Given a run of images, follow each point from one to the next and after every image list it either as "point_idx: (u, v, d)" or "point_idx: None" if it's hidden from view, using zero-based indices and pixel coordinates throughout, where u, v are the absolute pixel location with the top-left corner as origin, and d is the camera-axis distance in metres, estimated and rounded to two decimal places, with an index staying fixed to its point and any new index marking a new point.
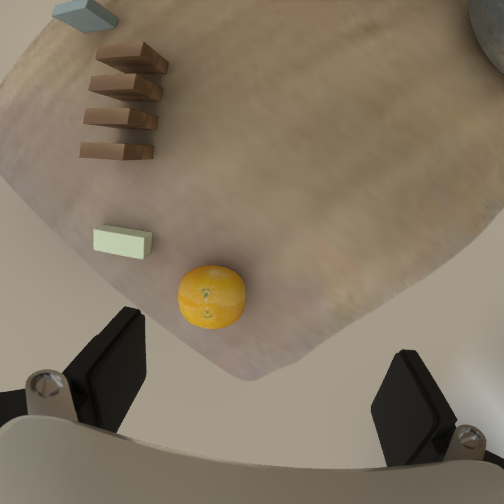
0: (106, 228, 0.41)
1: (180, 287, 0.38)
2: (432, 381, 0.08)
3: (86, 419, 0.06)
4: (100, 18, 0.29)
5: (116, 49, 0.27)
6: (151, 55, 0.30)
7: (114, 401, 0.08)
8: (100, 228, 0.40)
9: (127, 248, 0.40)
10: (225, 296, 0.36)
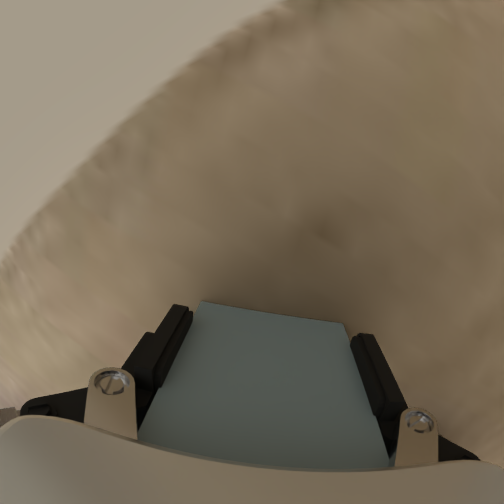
0: None
1: None
2: (385, 363, 0.09)
3: None
4: None
5: None
6: None
7: None
8: None
9: None
10: None
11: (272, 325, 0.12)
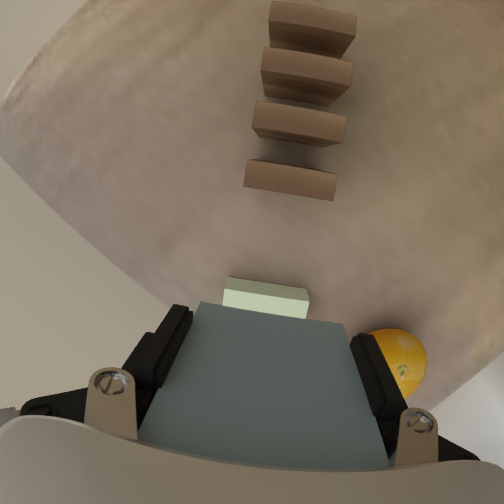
0: (240, 285, 0.30)
1: None
2: (385, 363, 0.09)
3: None
4: None
5: (310, 15, 0.16)
6: None
7: None
8: (232, 286, 0.30)
9: None
10: (419, 369, 0.26)
11: (272, 325, 0.12)
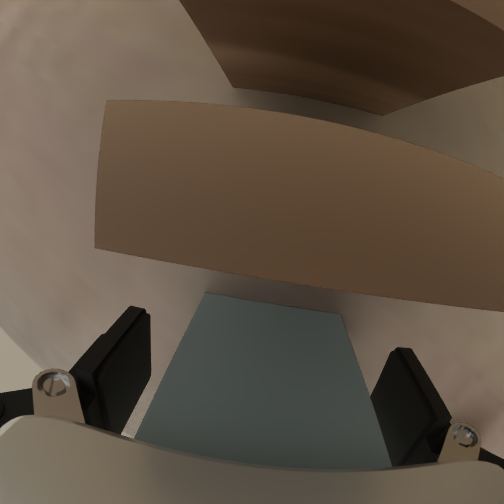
0: None
1: None
2: (427, 378, 0.08)
3: (93, 418, 0.06)
4: None
5: None
6: None
7: (120, 400, 0.08)
8: None
9: None
10: None
11: (273, 314, 0.13)
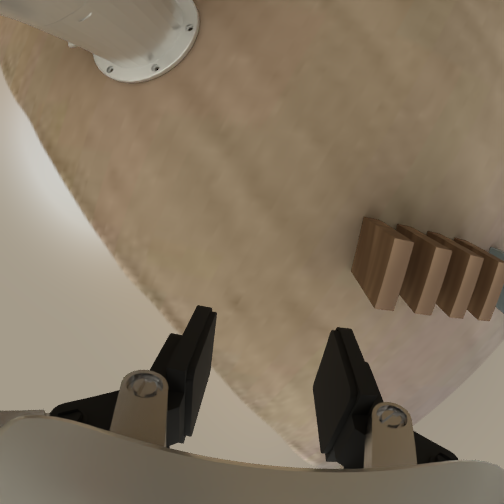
0: None
1: None
2: (361, 357, 0.09)
3: (180, 415, 0.07)
4: None
5: (392, 279, 0.23)
6: (391, 231, 0.25)
7: (197, 396, 0.09)
8: None
9: None
10: None
11: None
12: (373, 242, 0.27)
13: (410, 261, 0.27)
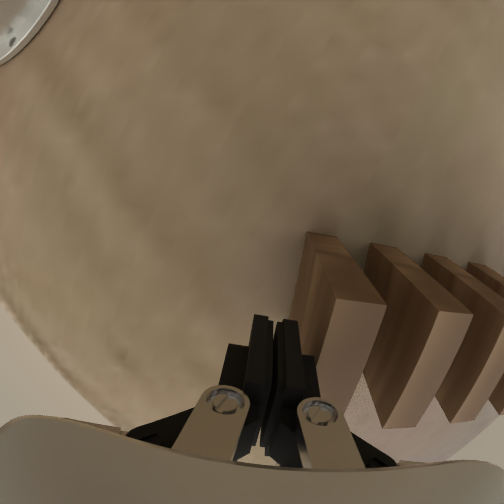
0: None
1: None
2: (300, 349, 0.09)
3: (255, 427, 0.07)
4: None
5: (333, 380, 0.10)
6: (342, 269, 0.12)
7: None
8: None
9: None
10: None
11: None
12: (310, 286, 0.14)
13: (386, 321, 0.14)
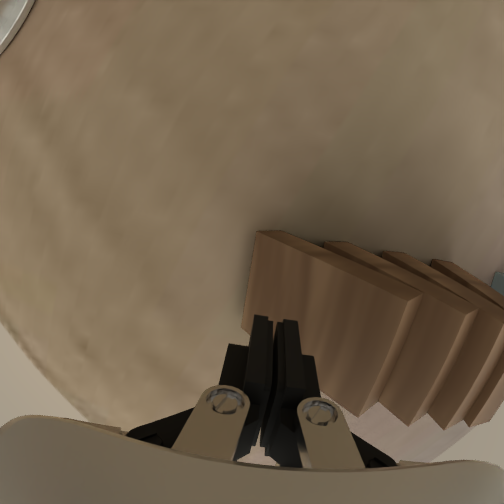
0: None
1: None
2: (300, 350, 0.09)
3: (255, 427, 0.07)
4: None
5: (388, 365, 0.12)
6: (357, 269, 0.13)
7: None
8: None
9: None
10: None
11: None
12: (311, 291, 0.14)
13: None
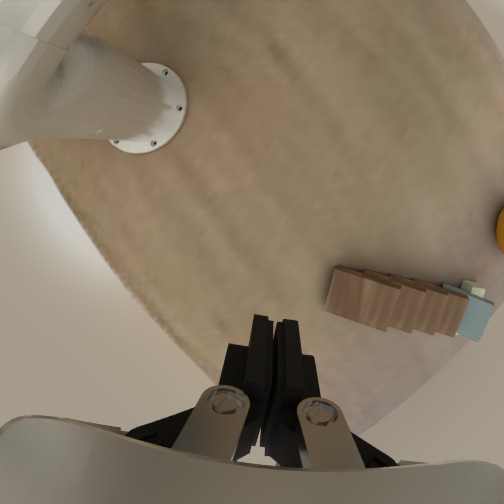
0: None
1: None
2: (300, 349, 0.09)
3: (255, 427, 0.07)
4: (468, 293, 0.38)
5: None
6: (379, 280, 0.37)
7: None
8: None
9: None
10: None
11: None
12: (363, 290, 0.38)
13: None
